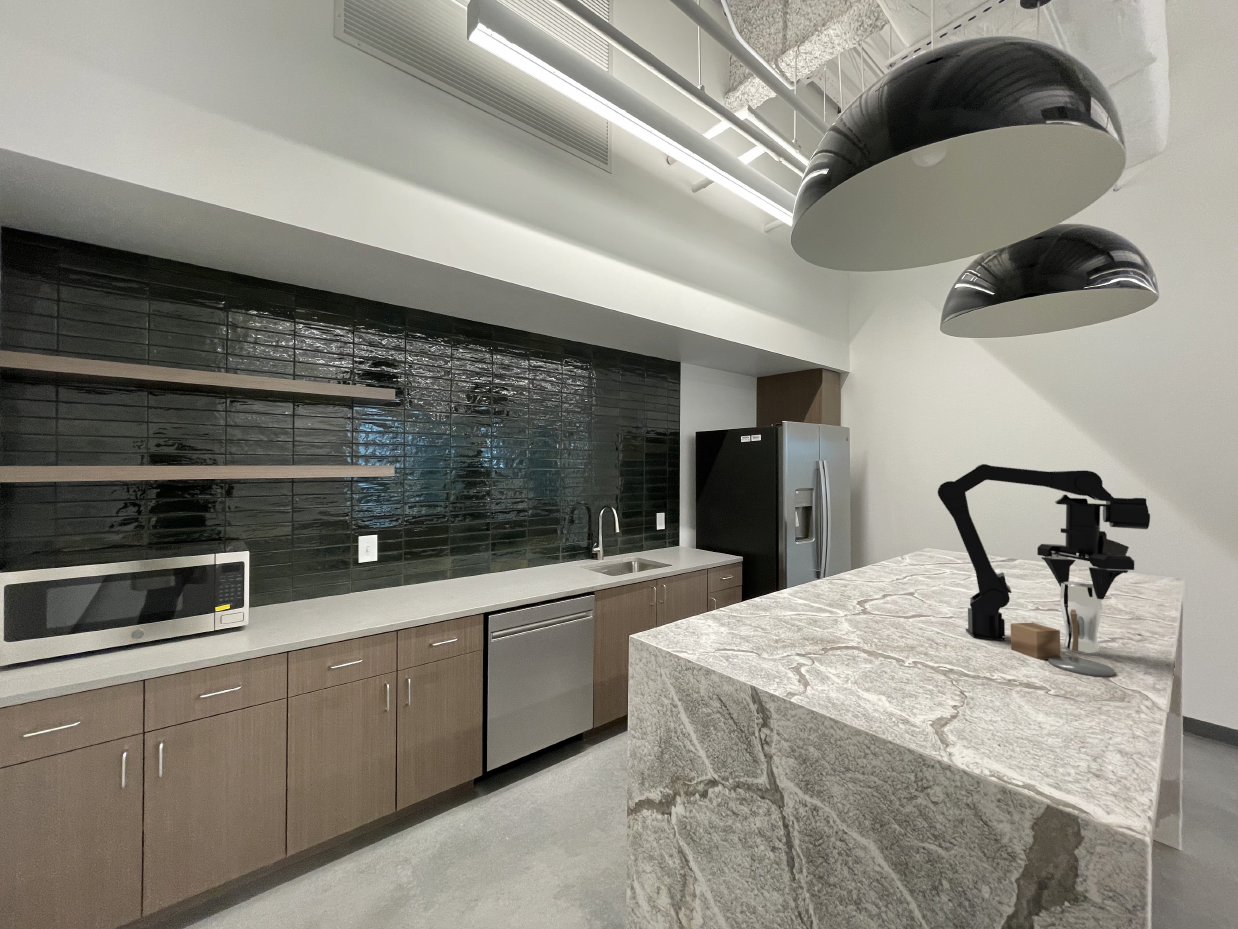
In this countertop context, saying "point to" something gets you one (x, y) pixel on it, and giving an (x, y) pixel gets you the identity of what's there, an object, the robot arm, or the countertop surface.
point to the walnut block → (1035, 640)
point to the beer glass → (1080, 617)
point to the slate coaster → (1081, 666)
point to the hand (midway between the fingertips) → (1081, 594)
